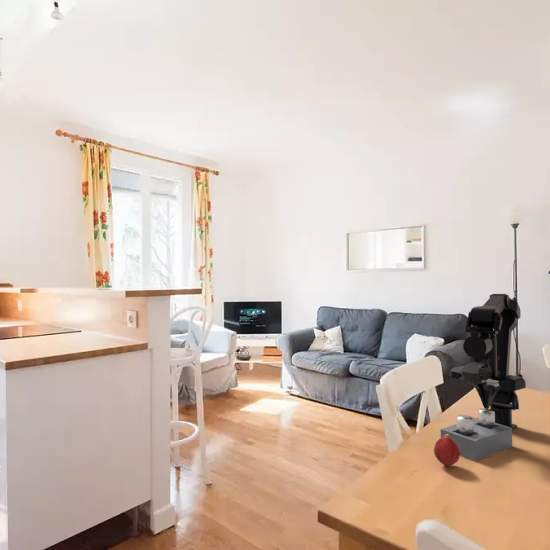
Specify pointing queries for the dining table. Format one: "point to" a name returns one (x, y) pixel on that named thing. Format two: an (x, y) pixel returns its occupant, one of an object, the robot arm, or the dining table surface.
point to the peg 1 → (465, 425)
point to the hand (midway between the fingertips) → (486, 408)
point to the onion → (446, 451)
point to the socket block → (480, 440)
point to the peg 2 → (487, 418)
